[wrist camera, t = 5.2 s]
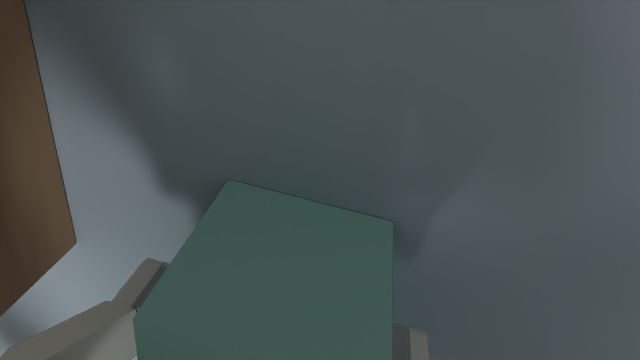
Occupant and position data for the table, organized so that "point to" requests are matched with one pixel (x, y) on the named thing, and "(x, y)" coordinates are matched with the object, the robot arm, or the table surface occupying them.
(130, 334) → the robot arm
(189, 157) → the table surface
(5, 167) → the tray
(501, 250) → the table surface
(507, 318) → the table surface
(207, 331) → the teal cube
